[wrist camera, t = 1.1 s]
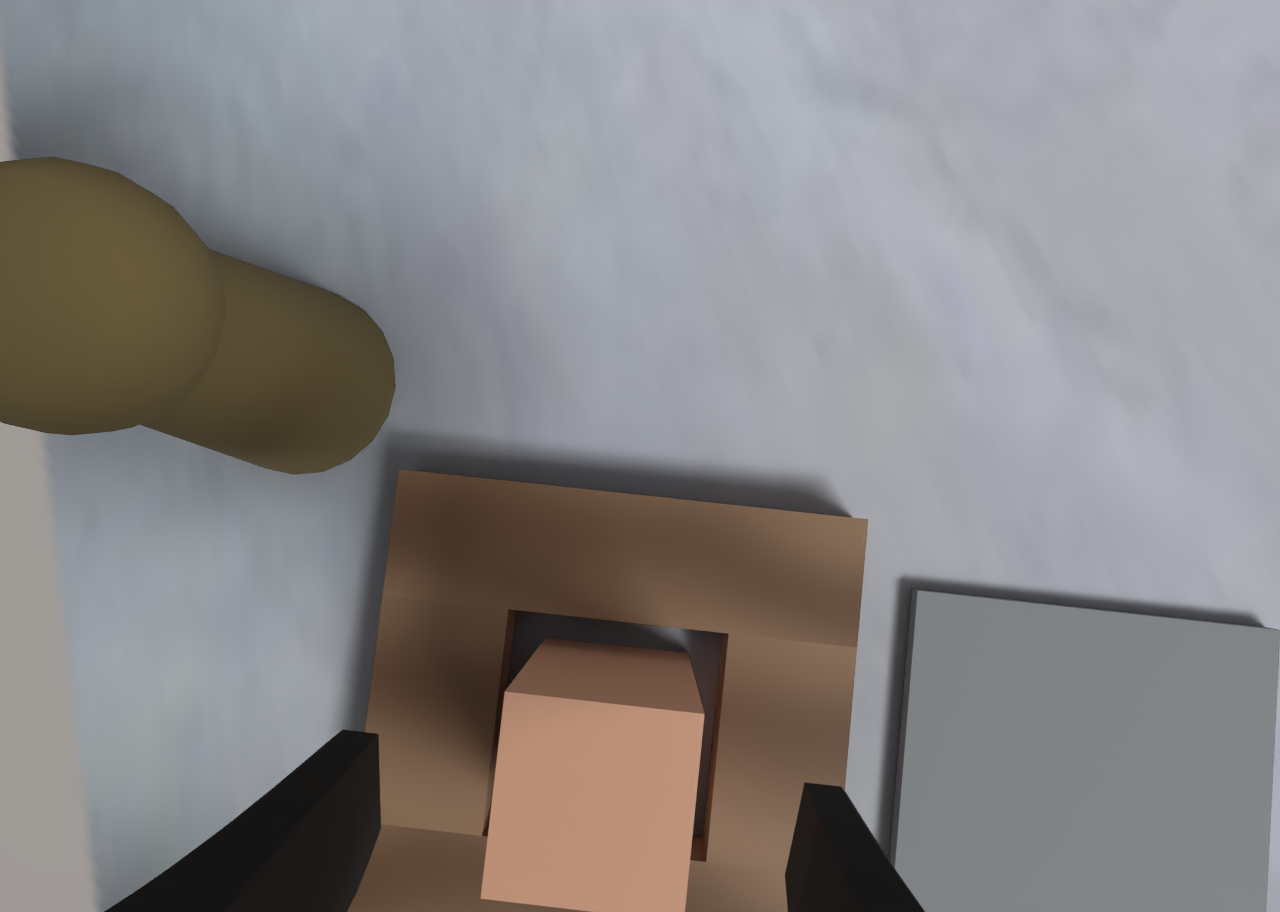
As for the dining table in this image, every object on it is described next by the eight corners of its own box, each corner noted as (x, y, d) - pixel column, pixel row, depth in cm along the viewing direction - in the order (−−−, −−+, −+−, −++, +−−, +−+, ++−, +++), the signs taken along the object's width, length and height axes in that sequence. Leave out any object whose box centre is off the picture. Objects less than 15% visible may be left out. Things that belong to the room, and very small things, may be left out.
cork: (175, 352, 23) (-250, 218, 12) (334, 254, 23) (57, 34, 12) (269, 510, 23) (-82, 518, 12) (430, 409, 23) (232, 325, 12)
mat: (1246, 995, 22) (1261, 1007, 21) (881, 951, 22) (887, 962, 21) (1265, 627, 22) (1280, 630, 22) (911, 588, 22) (917, 590, 22)
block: (673, 799, 22) (683, 922, 16) (529, 783, 22) (480, 898, 16) (688, 652, 22) (704, 714, 16) (545, 637, 23) (504, 691, 16)
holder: (812, 978, 22) (825, 1013, 20) (357, 924, 22) (336, 955, 20) (853, 518, 23) (868, 519, 21) (414, 471, 23) (398, 468, 21)
